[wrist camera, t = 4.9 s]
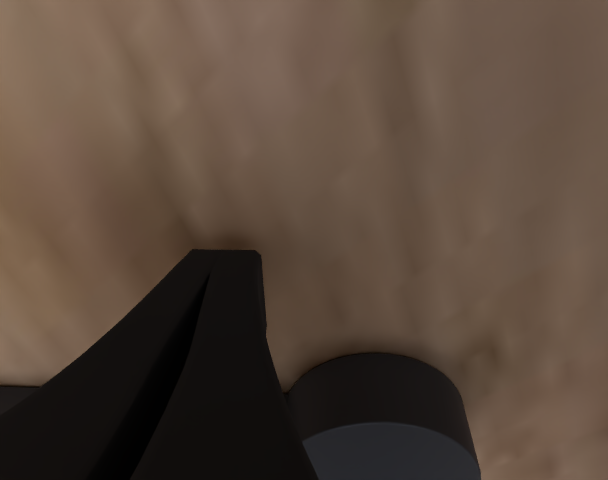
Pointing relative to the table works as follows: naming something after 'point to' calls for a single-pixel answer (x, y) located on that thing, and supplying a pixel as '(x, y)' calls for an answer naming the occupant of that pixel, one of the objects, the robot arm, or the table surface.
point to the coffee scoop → (372, 420)
